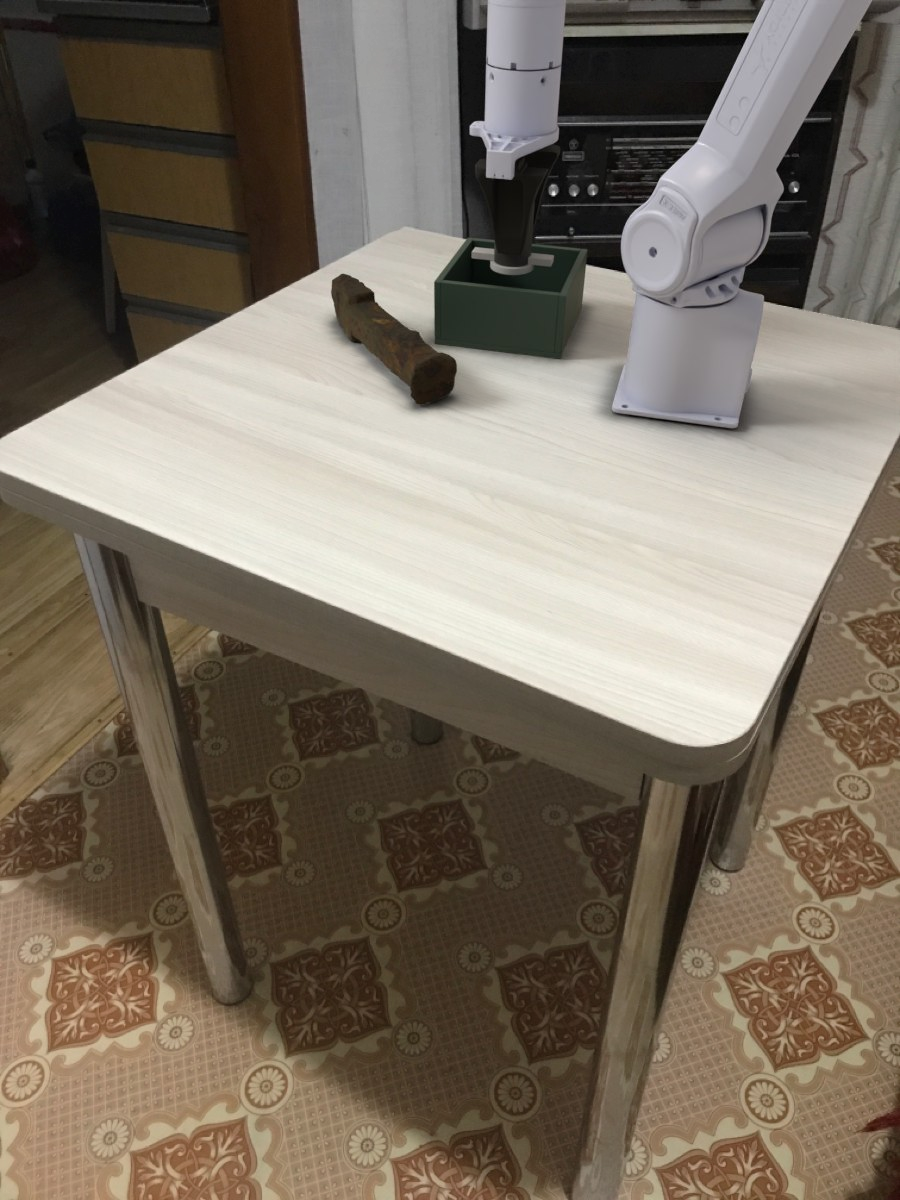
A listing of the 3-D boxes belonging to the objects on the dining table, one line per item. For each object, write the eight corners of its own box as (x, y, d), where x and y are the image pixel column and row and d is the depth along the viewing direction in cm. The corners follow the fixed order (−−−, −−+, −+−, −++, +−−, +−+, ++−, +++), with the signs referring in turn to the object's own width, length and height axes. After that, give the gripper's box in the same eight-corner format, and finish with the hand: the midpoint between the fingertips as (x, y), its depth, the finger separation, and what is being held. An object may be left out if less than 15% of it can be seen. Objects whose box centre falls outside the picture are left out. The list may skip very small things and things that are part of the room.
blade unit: (555, 263, 80) (562, 179, 75) (547, 279, 77) (554, 192, 72) (478, 255, 81) (480, 171, 77) (467, 270, 78) (469, 185, 74)
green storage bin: (581, 308, 86) (587, 249, 82) (560, 359, 77) (566, 296, 74) (466, 295, 88) (467, 237, 84) (434, 343, 80) (433, 281, 76)
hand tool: (459, 399, 72) (460, 343, 69) (413, 410, 70) (412, 354, 67) (365, 313, 85) (362, 263, 82) (325, 320, 83) (320, 269, 80)
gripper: (494, 43, 75) (488, 214, 84) (447, 79, 64) (446, 270, 73) (579, 48, 74) (564, 221, 83) (545, 86, 63) (532, 279, 72)
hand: (514, 245), depth 78 cm, fingers closed on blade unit, 3 cm apart
